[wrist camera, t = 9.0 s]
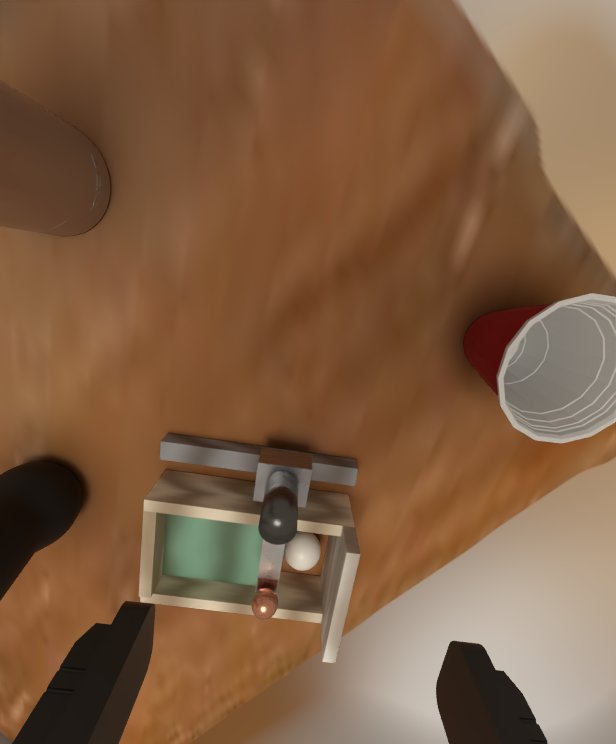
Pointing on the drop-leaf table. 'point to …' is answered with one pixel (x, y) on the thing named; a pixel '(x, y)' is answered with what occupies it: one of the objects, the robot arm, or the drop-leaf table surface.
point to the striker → (277, 518)
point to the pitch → (243, 538)
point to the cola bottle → (33, 513)
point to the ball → (303, 551)
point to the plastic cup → (550, 365)
